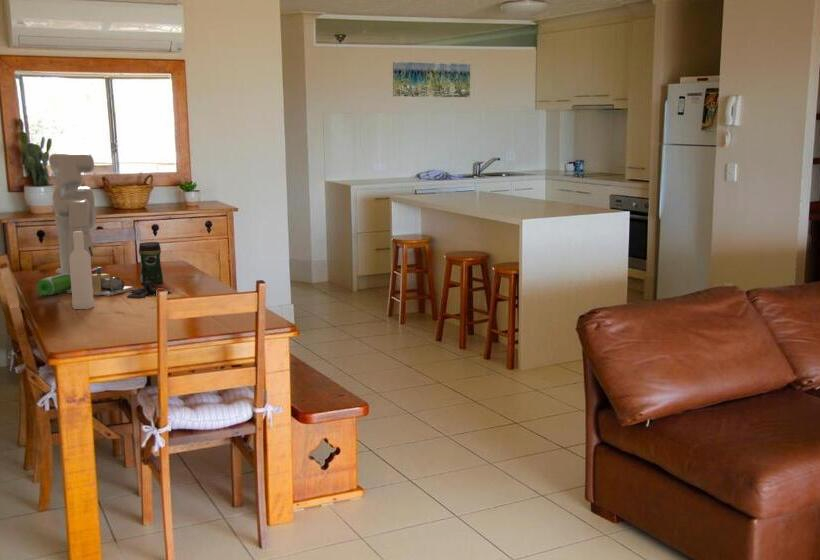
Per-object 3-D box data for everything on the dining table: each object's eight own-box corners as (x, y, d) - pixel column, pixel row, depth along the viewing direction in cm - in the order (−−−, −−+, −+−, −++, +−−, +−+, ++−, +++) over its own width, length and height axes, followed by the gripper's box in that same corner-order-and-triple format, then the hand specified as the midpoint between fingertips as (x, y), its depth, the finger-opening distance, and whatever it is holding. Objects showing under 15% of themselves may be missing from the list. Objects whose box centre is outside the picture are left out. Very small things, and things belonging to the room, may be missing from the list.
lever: (96, 273, 378) (96, 266, 378) (104, 273, 378) (104, 266, 378) (81, 279, 364) (81, 272, 364) (90, 279, 364) (89, 272, 363)
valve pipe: (66, 293, 374) (65, 276, 373) (91, 286, 389) (90, 270, 388) (110, 296, 366) (109, 279, 365) (134, 289, 381) (133, 273, 380)
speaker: (62, 288, 385) (61, 271, 384) (77, 289, 384) (76, 272, 382) (36, 296, 369) (35, 278, 367) (51, 297, 367) (50, 279, 365)
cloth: (126, 301, 359) (125, 286, 358) (123, 293, 376) (122, 279, 375) (182, 296, 367) (181, 282, 366) (176, 289, 384) (176, 275, 383)
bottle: (68, 308, 342) (62, 232, 337) (85, 305, 349) (80, 229, 344) (81, 310, 338) (75, 233, 333) (98, 307, 344) (93, 231, 339)
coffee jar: (162, 280, 402) (160, 240, 399) (163, 283, 395) (161, 242, 392) (140, 282, 399) (138, 241, 396) (140, 285, 392) (138, 243, 389)
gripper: (59, 230, 364) (63, 273, 368) (85, 232, 358) (88, 276, 361) (74, 228, 371) (77, 270, 374) (99, 230, 364) (102, 273, 368)
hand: (82, 273), depth 368 cm, fingers closed
